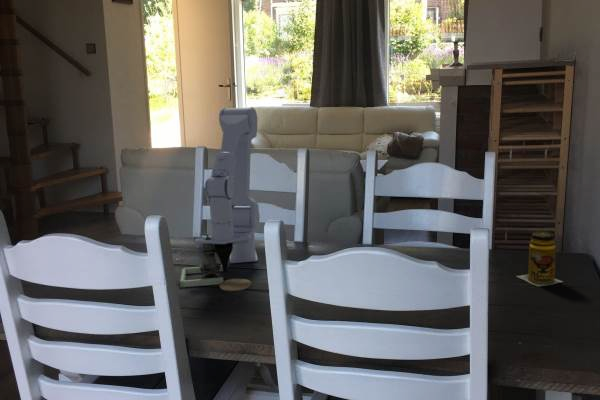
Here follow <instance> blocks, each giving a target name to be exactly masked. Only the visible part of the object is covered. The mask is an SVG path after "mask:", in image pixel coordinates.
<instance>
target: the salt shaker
mask: <svg viewBox="0 0 600 400" xmlns="http://www.w3.org/2000/svg"><path fill="white" fill-rule="evenodd" d="M210 237H211V236H210V235H209V234H206V237H204V238H205V239H204V240H212V238H210ZM201 253H202V254H203V261H202V262H201V263H200V264H198V267H199V268H200V270H201V272H202V273H201V274H203V275H202V276H201V278H200V279H209V278H221V275H220V274H218V273H219V272H220V271H219V269H220V265H222V264H221V262H218V261H217V260H216V256H215V255H216V254H215V253H216V252H215V249H214V244H212V243H203V246H202V251H201Z"/></svg>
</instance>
